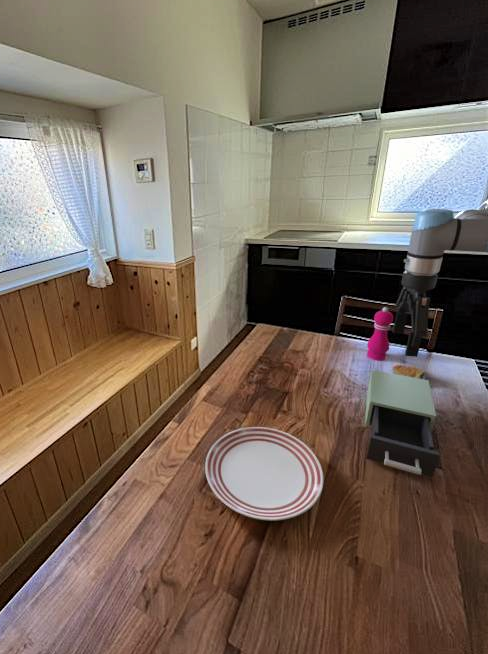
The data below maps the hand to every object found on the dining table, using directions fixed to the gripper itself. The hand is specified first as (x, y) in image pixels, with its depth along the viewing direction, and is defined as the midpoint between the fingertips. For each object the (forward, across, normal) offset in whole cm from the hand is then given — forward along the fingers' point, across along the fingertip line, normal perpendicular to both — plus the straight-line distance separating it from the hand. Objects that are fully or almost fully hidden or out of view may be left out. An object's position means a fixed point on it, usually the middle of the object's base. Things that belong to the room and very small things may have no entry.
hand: (404, 343), depth 96 cm
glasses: (+20, -4, -37) cm, 42 cm away
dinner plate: (+20, +38, -36) cm, 56 cm away
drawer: (+19, +23, -4) cm, 30 cm away
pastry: (+20, -14, +8) cm, 26 cm away
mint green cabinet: (+20, +8, -1) cm, 21 cm away
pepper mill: (+20, -27, +1) cm, 33 cm away
